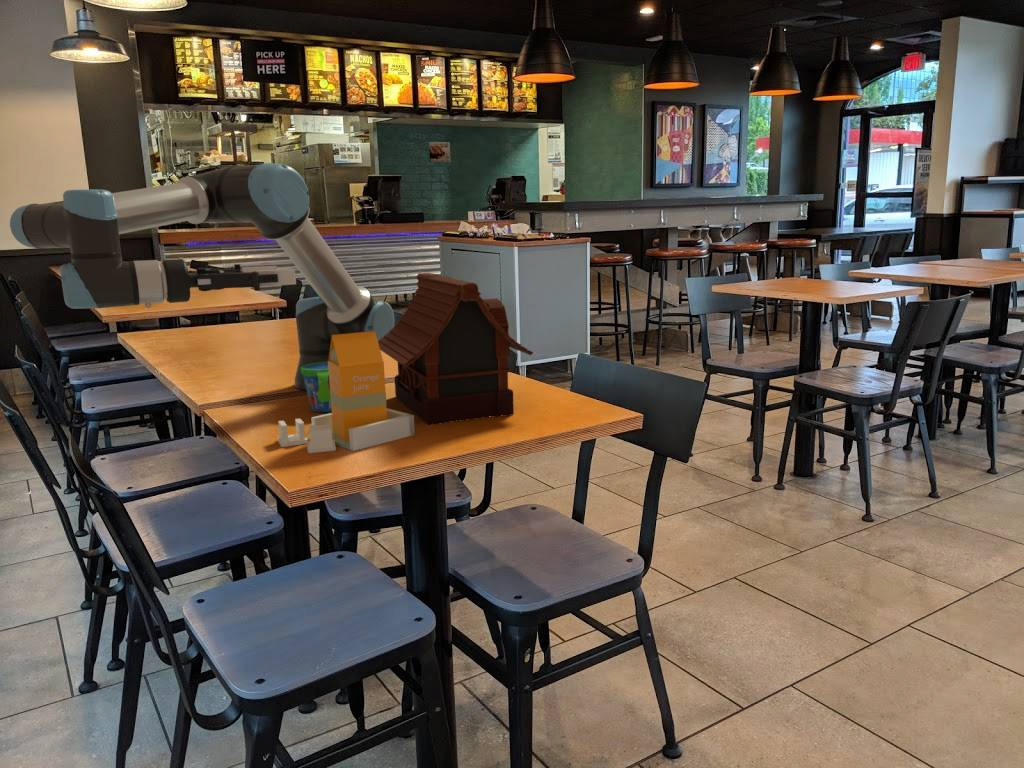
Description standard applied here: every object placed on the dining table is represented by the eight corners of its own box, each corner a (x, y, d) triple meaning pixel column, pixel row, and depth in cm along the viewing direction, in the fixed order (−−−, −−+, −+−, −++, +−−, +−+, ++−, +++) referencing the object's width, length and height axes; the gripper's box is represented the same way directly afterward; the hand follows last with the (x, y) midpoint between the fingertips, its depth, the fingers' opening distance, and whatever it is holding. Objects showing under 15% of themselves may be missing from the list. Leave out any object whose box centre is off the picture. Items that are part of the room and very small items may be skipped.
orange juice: (388, 434, 152) (382, 333, 147) (344, 441, 147) (337, 337, 143) (375, 425, 158) (368, 328, 154) (332, 432, 154) (325, 332, 150)
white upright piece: (308, 453, 143) (306, 432, 142) (307, 445, 148) (306, 425, 147) (335, 450, 144) (334, 429, 143) (334, 443, 149) (333, 423, 148)
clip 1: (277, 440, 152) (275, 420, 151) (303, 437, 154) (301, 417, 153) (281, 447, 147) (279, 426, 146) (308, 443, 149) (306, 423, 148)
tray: (372, 422, 163) (371, 404, 162) (414, 434, 153) (413, 415, 152) (312, 436, 154) (311, 417, 153) (353, 451, 144) (352, 430, 143)
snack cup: (311, 402, 183) (307, 359, 181) (356, 400, 184) (353, 358, 182) (297, 419, 168) (293, 372, 166) (346, 417, 169) (342, 371, 166)
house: (537, 414, 167) (535, 279, 161) (408, 430, 157) (400, 286, 151) (483, 384, 199) (479, 270, 193) (372, 395, 189) (365, 275, 183)
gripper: (158, 297, 147) (271, 290, 157) (174, 309, 126) (305, 299, 136) (153, 257, 145) (268, 252, 156) (169, 262, 124) (301, 256, 134)
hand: (285, 274), depth 146 cm, fingers open, 13 cm apart
